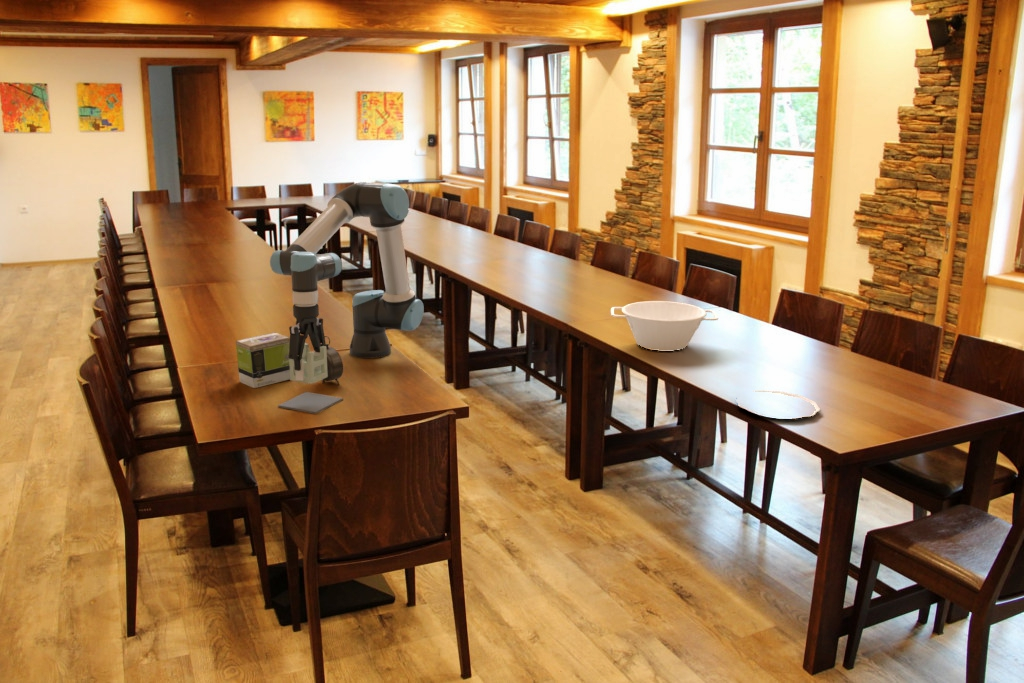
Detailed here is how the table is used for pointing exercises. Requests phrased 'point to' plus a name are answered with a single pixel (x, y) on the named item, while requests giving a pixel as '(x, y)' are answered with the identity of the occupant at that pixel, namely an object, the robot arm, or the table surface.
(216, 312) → the table surface
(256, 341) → the tea box
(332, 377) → the alarm clock
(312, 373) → the stool
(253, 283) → the table surface
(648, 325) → the pot
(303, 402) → the mat
